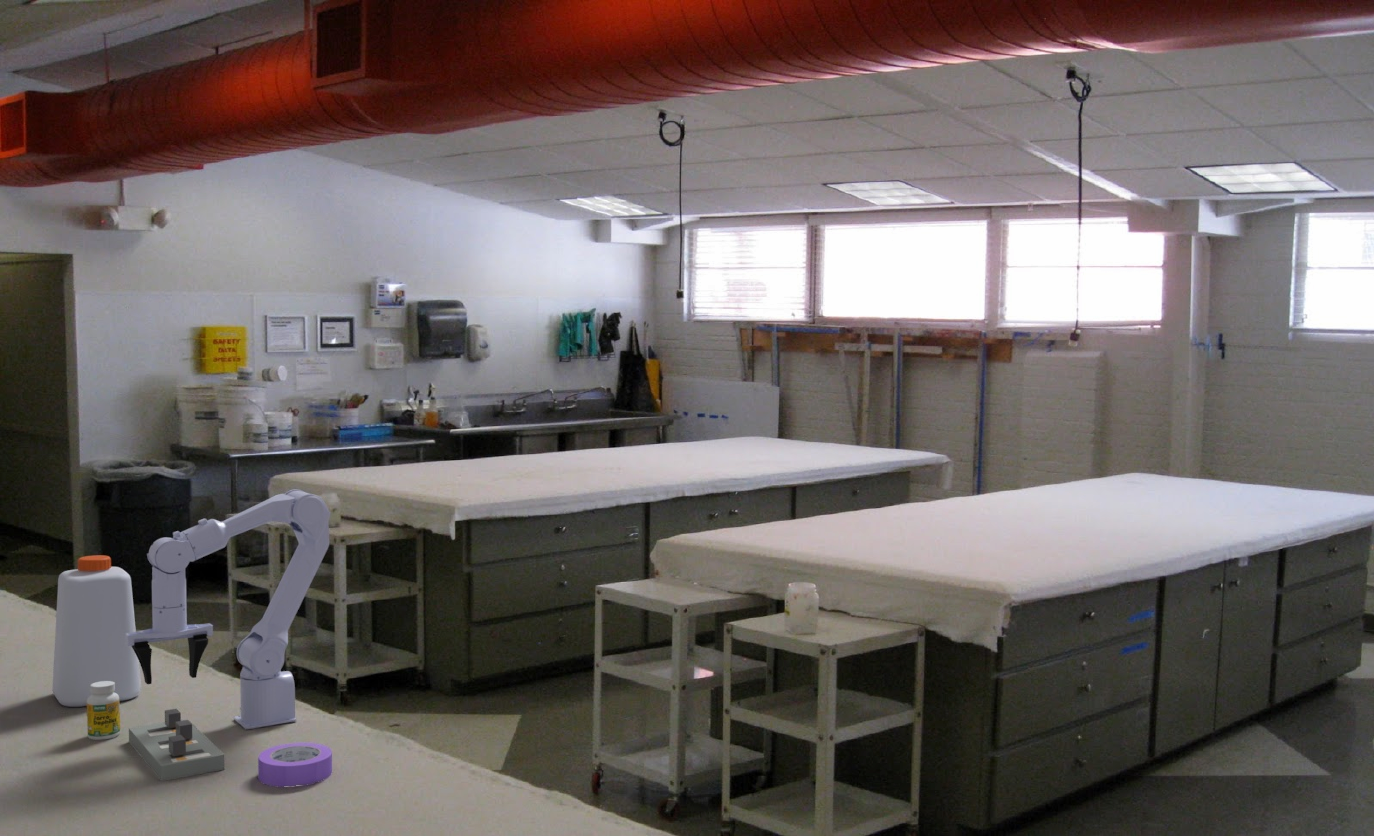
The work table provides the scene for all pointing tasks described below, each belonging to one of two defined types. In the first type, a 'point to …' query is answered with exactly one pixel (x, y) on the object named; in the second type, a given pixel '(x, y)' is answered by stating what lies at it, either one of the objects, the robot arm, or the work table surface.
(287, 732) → the work table surface
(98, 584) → the plastic bottle
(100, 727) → the supplement bottle
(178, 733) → the slider middle
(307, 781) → the masking tape
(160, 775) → the switch panel
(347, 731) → the work table surface
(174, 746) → the block
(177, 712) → the slider back
